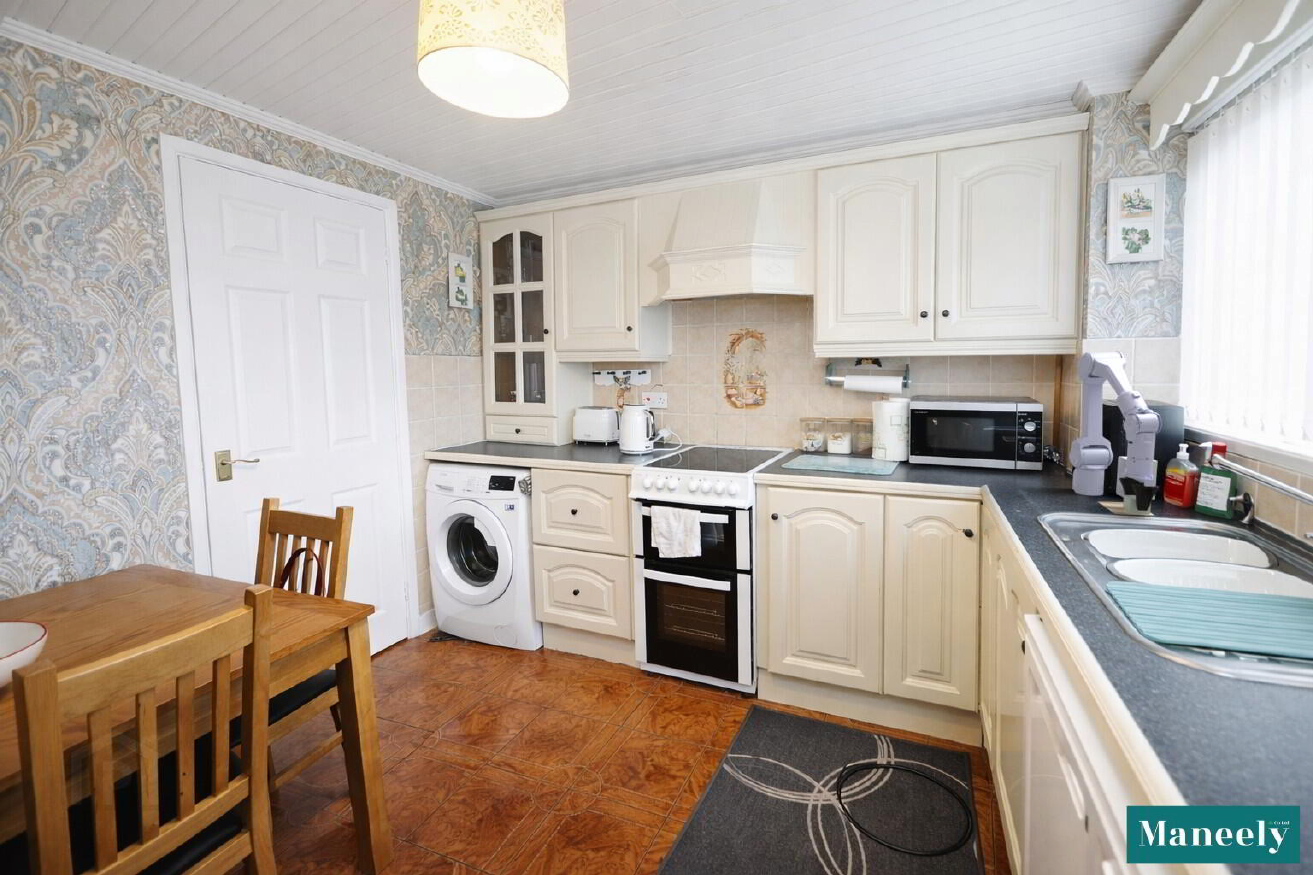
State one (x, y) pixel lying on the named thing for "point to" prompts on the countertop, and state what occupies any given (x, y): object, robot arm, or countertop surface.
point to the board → (1118, 508)
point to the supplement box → (1121, 468)
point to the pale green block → (1133, 505)
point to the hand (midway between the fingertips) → (1136, 507)
